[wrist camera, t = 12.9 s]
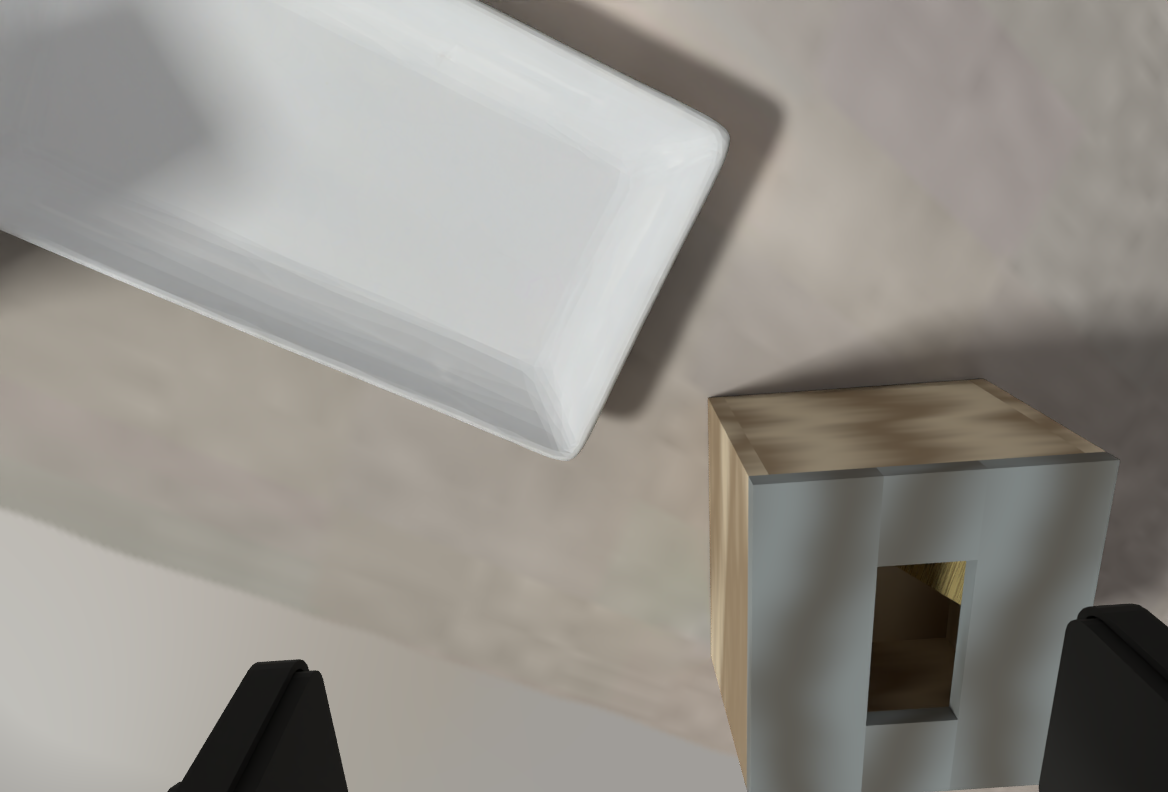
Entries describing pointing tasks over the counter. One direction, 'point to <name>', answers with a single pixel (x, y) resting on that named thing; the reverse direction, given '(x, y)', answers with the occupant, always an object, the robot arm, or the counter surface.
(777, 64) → the counter surface
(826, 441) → the box
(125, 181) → the tray
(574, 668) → the counter surface
